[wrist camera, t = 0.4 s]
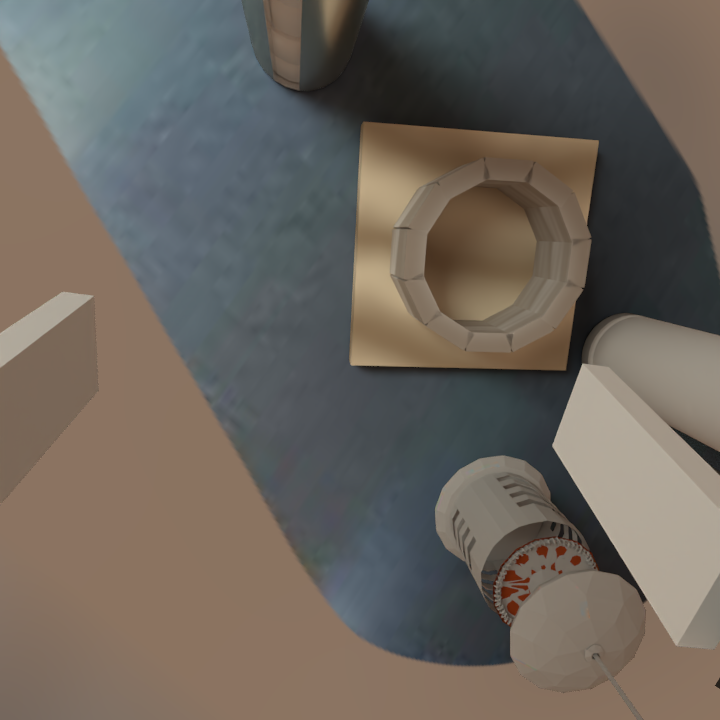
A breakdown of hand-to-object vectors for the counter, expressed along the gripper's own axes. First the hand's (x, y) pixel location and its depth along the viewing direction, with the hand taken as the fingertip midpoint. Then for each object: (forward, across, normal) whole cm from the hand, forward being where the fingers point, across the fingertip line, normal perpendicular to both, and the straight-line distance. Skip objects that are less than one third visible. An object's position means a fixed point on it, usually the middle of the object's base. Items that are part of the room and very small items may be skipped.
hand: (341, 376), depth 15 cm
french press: (+21, +16, -22) cm, 34 cm away
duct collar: (+25, +9, -2) cm, 27 cm away
